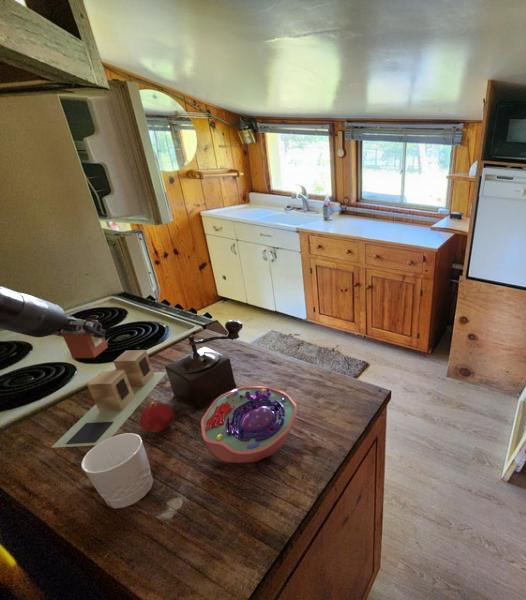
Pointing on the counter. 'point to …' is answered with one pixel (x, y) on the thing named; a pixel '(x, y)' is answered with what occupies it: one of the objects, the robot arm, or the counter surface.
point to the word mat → (105, 419)
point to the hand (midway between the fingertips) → (90, 334)
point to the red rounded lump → (156, 417)
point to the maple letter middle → (111, 391)
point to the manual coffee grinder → (203, 372)
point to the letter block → (84, 345)
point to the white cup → (119, 470)
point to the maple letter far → (135, 367)
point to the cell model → (248, 423)
